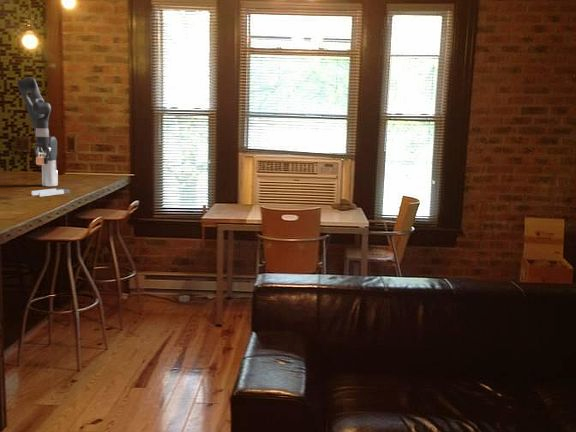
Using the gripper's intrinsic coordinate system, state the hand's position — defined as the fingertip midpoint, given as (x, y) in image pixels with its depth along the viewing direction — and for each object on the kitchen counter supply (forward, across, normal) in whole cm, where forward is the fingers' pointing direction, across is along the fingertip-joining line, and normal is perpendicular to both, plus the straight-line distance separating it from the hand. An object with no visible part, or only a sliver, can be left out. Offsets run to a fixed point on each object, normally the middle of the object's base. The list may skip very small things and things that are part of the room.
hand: (43, 163), depth 410 cm
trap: (+19, 0, +14) cm, 24 cm away
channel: (+19, 0, +3) cm, 20 cm away
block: (0, 0, -1) cm, 1 cm away
